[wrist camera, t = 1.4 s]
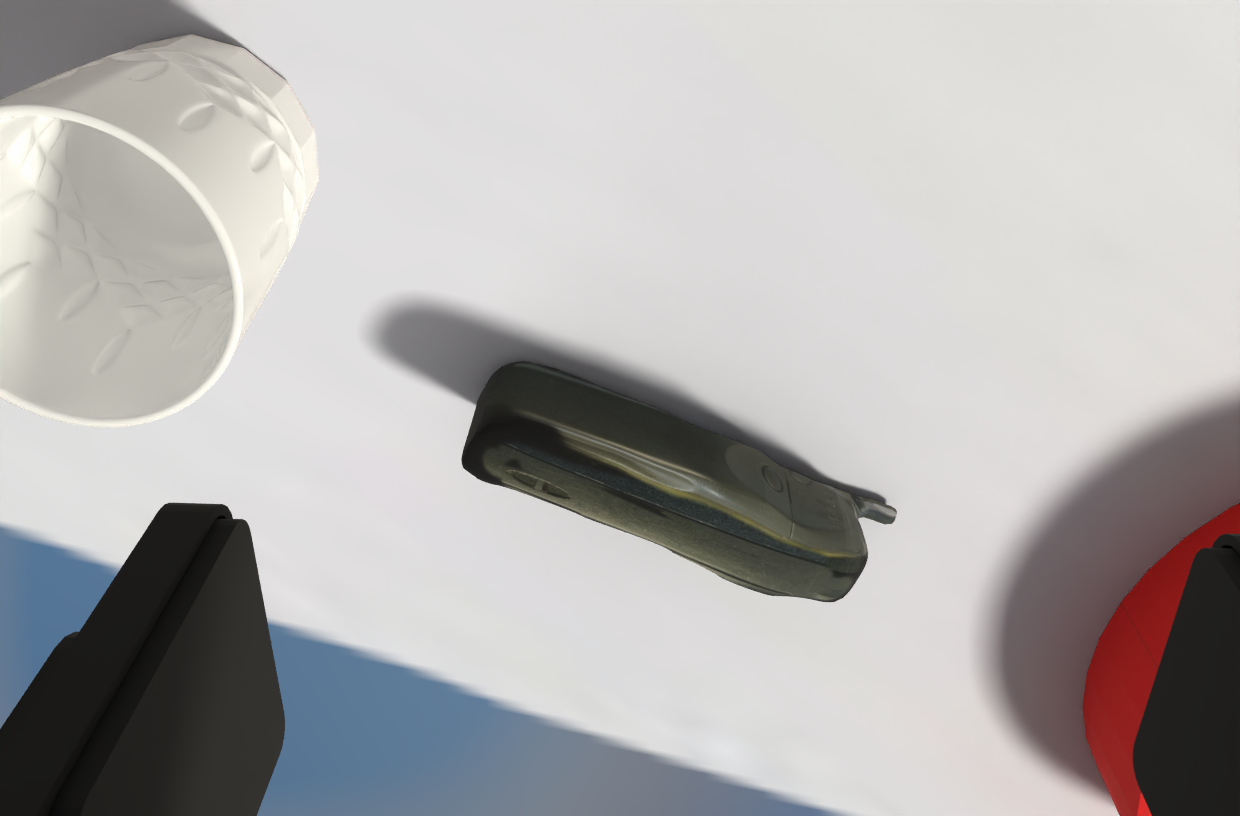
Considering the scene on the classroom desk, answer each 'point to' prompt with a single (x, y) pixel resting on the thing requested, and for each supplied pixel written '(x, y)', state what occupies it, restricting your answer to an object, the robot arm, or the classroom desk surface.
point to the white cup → (143, 225)
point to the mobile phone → (668, 483)
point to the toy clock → (1138, 662)
